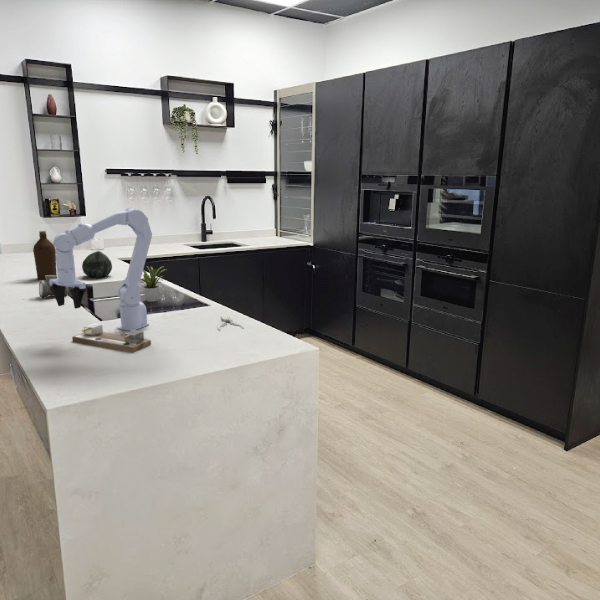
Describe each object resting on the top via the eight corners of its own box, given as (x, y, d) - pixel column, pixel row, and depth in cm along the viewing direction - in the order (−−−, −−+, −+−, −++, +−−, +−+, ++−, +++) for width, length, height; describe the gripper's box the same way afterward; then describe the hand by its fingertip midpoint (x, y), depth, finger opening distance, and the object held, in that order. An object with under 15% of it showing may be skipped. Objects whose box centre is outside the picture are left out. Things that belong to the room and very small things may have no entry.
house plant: (175, 297, 243) (173, 262, 240) (165, 304, 230) (163, 267, 226) (145, 295, 245) (143, 261, 241) (133, 303, 231) (131, 266, 228)
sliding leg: (94, 331, 186) (93, 323, 185) (102, 332, 184) (102, 324, 184) (78, 336, 179) (78, 328, 179) (87, 338, 178) (87, 329, 177)
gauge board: (92, 333, 188) (91, 321, 187) (150, 344, 178) (150, 331, 177) (72, 341, 180) (71, 328, 179) (132, 352, 170) (132, 339, 169)
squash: (88, 263, 294) (82, 246, 282) (115, 264, 296) (111, 247, 283) (83, 283, 286) (77, 267, 274) (111, 284, 288) (106, 268, 275)
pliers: (218, 327, 194) (212, 316, 208) (218, 331, 195) (212, 320, 209) (244, 325, 197) (237, 315, 211) (244, 329, 197) (237, 318, 211)
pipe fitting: (41, 298, 234) (41, 276, 233) (37, 296, 240) (38, 274, 239) (69, 298, 241) (70, 276, 240) (65, 296, 247) (66, 275, 246)
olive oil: (60, 278, 279) (55, 231, 273) (38, 280, 272) (33, 232, 266) (55, 275, 287) (51, 229, 281) (34, 277, 281) (29, 230, 275)
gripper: (40, 268, 180) (44, 306, 183) (72, 272, 174) (76, 311, 178) (57, 265, 186) (60, 302, 189) (88, 269, 181) (91, 307, 184)
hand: (69, 306), depth 184 cm, fingers open, 7 cm apart
